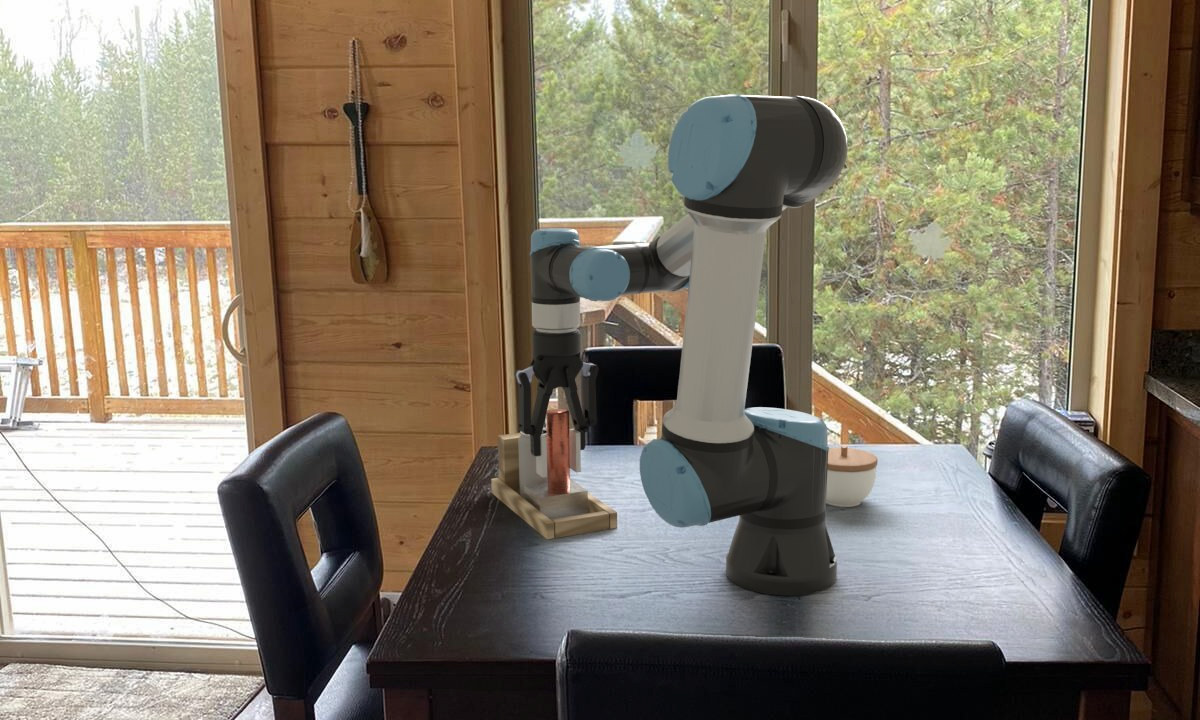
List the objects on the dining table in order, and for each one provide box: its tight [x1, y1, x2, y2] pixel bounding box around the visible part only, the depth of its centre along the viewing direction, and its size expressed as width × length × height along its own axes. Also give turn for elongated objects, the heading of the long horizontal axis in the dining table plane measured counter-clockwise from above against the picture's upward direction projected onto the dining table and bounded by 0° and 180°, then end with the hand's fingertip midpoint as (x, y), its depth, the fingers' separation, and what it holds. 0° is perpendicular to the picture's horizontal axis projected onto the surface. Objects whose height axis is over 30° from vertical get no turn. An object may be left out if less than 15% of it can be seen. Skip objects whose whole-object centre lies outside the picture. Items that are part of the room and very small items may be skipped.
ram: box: [524, 408, 589, 521], centre depth 179 cm, size 7×8×17 cm
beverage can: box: [518, 426, 548, 498], centre depth 186 cm, size 6×6×12 cm
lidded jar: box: [826, 445, 878, 508], centre depth 184 cm, size 11×11×9 cm
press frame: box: [490, 432, 618, 540], centre depth 181 cm, size 25×12×10 cm, turn 25°
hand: (558, 472), depth 178 cm, fingers open, 5 cm apart
